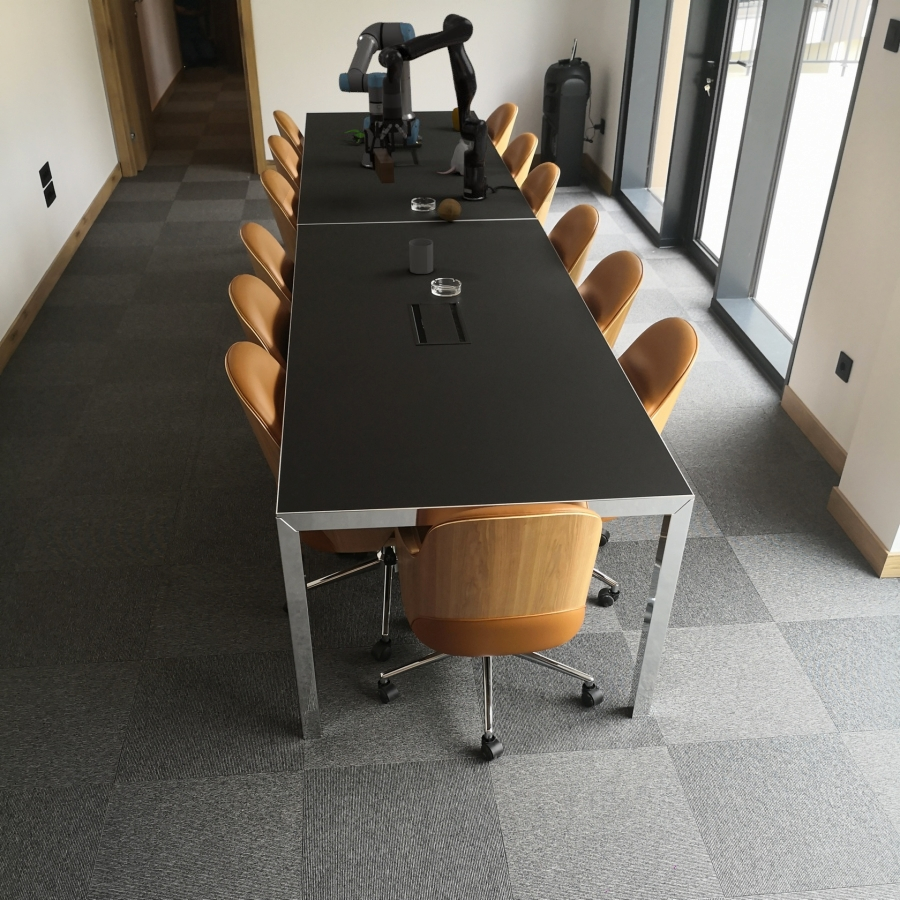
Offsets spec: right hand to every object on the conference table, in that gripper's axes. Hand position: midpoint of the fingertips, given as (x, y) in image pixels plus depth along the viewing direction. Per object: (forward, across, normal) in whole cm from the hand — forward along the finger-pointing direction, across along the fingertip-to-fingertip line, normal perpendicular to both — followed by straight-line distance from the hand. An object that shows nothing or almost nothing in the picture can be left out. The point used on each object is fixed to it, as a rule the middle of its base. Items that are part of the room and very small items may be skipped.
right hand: (393, 148), depth 344 cm
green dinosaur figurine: (+28, +4, +129) cm, 132 cm away
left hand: (+16, -2, +30) cm, 34 cm away
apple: (+28, +57, +148) cm, 161 cm away
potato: (+28, +21, -8) cm, 36 cm away
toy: (+28, +36, +58) cm, 73 cm away
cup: (+28, +1, -62) cm, 68 cm away
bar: (+16, -2, +21) cm, 27 cm away
